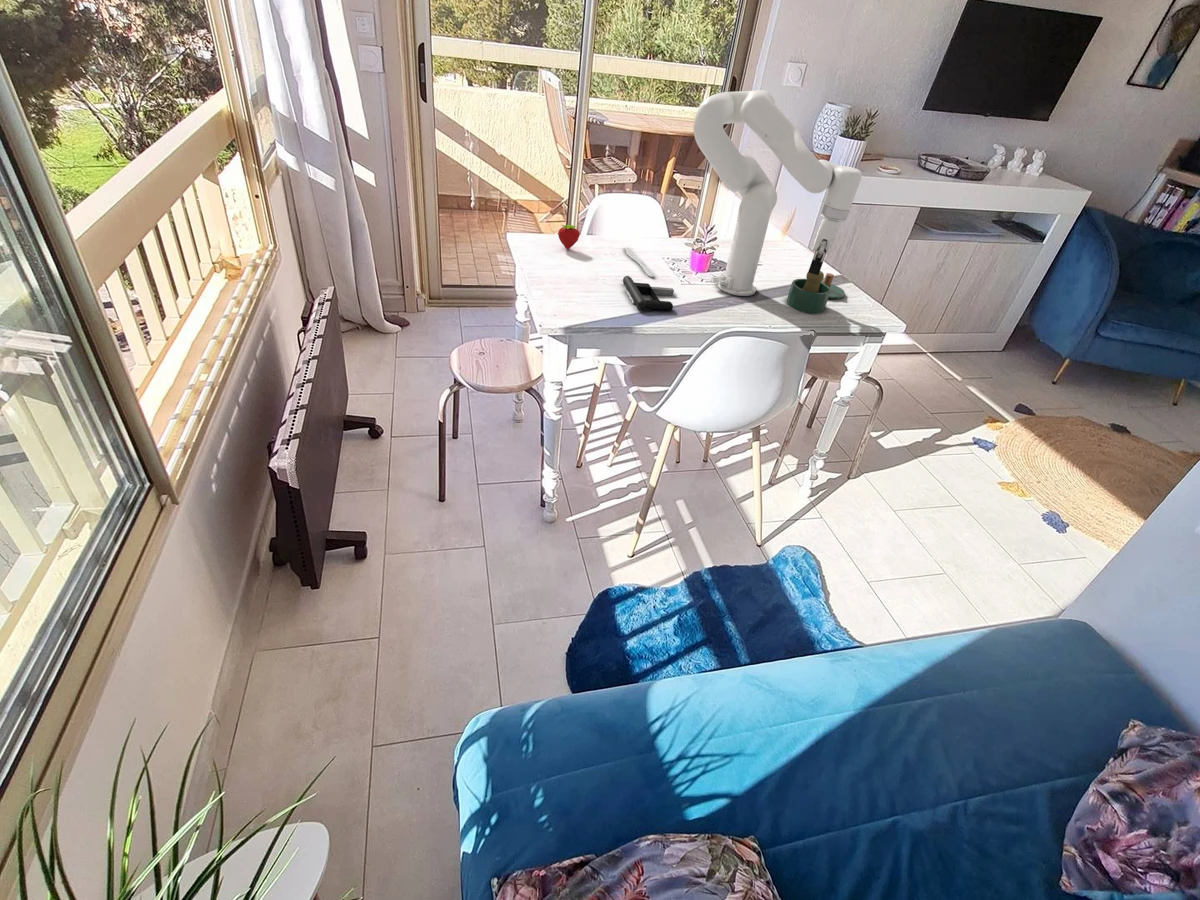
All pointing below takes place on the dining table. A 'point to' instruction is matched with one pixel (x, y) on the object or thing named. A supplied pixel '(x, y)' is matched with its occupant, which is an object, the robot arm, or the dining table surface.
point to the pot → (807, 297)
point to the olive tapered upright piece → (813, 282)
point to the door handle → (645, 289)
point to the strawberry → (568, 235)
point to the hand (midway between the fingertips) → (815, 268)
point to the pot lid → (833, 287)
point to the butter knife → (639, 262)
